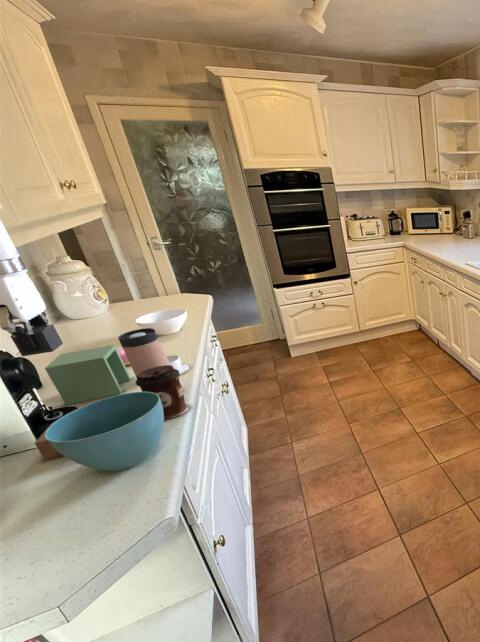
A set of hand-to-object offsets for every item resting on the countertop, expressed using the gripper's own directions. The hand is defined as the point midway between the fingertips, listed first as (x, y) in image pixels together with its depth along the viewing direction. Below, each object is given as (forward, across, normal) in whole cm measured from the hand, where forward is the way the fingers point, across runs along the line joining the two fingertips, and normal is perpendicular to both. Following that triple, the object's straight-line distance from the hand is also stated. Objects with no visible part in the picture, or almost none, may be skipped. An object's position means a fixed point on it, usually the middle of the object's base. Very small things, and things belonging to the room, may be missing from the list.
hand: (41, 345), depth 90 cm
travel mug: (+24, -12, +13) cm, 30 cm away
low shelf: (+24, +5, +1) cm, 25 cm away
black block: (+1, 0, 0) cm, 1 cm away
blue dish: (+24, +18, +12) cm, 33 cm away
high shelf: (+24, -25, -5) cm, 35 cm away
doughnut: (+24, -47, -3) cm, 53 cm away
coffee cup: (+24, 0, +17) cm, 30 cm away
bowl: (+24, -74, +1) cm, 78 cm away
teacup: (+24, -29, +11) cm, 39 cm away
